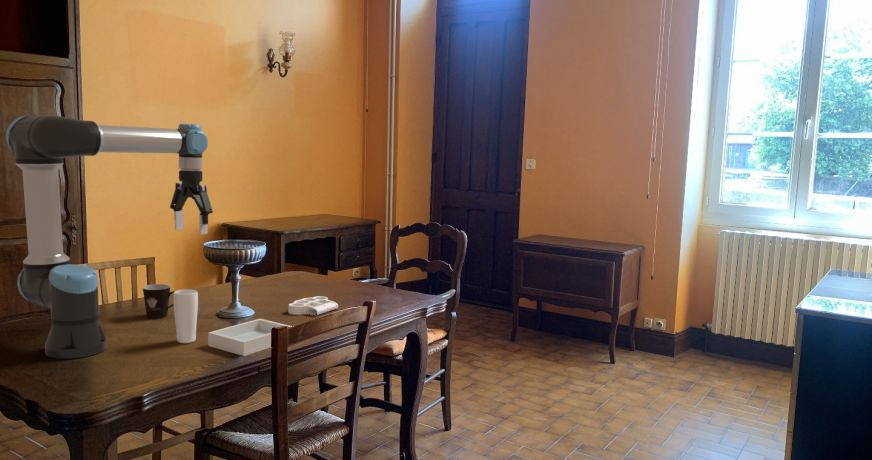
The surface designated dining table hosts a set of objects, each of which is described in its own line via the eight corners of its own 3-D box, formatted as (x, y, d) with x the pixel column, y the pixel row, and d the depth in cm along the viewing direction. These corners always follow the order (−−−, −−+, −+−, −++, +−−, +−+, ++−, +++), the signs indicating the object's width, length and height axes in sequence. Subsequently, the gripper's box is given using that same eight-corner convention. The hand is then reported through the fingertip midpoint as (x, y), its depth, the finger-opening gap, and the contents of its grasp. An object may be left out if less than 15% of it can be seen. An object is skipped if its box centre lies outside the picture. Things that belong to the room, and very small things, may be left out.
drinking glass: (203, 340, 200) (202, 291, 198) (184, 346, 194) (183, 295, 192) (188, 336, 203) (188, 288, 201) (169, 341, 198) (168, 292, 196)
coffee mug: (137, 316, 223) (136, 287, 222) (158, 311, 230) (158, 283, 229) (161, 322, 218) (161, 292, 216) (182, 316, 225) (182, 287, 224)
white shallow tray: (244, 356, 187) (244, 342, 187) (208, 345, 195) (208, 332, 195) (294, 339, 204) (294, 326, 204) (259, 330, 212) (259, 318, 211)
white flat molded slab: (311, 319, 229) (279, 312, 236) (343, 309, 244) (312, 303, 251) (311, 310, 228) (279, 303, 235) (343, 300, 244) (312, 294, 251)
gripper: (223, 171, 224) (223, 234, 226) (178, 167, 238) (178, 227, 240) (204, 172, 217) (204, 236, 220) (159, 168, 231) (159, 228, 234)
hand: (191, 231), depth 230 cm, fingers open, 13 cm apart
